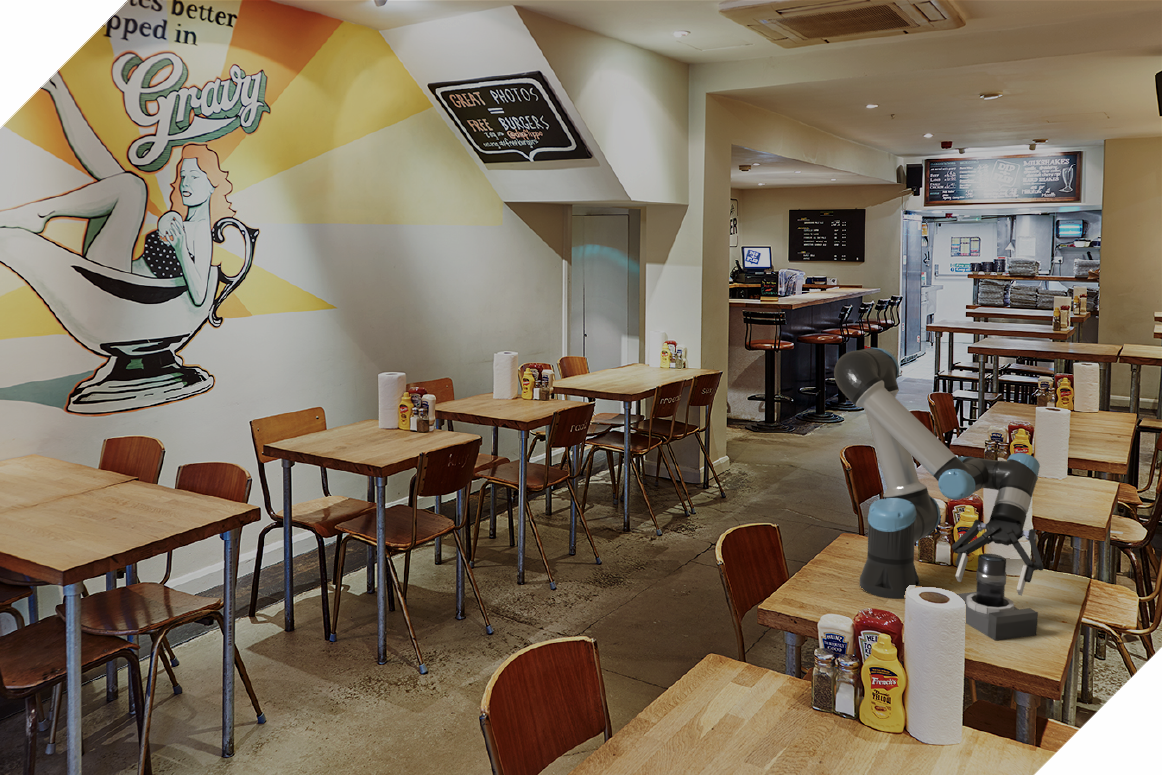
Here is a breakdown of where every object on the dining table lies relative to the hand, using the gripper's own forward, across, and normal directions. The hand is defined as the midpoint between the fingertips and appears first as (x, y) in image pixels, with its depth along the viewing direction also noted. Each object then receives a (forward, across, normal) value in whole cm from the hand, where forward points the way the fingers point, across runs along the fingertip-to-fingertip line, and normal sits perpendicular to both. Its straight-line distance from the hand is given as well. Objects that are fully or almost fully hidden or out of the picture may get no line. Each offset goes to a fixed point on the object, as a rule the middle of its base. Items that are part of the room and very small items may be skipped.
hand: (987, 585), depth 201 cm
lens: (+2, 0, -6) cm, 6 cm away
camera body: (+5, 0, -9) cm, 10 cm away
